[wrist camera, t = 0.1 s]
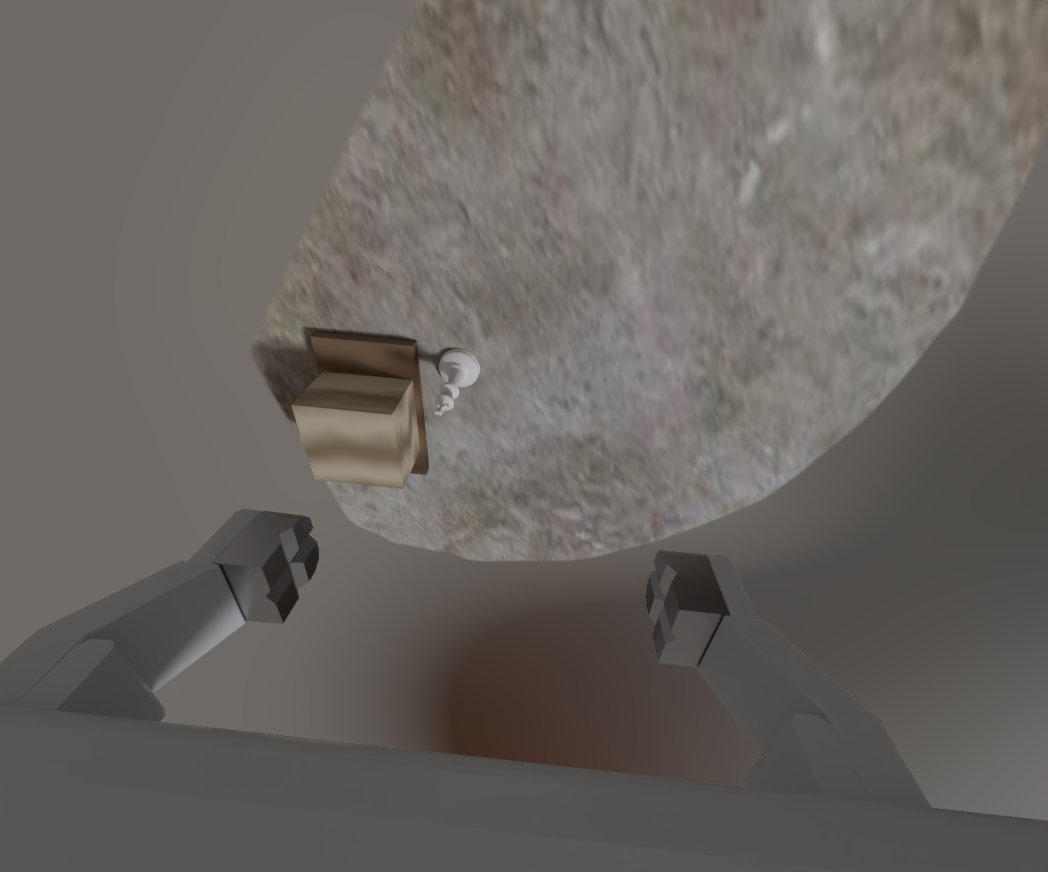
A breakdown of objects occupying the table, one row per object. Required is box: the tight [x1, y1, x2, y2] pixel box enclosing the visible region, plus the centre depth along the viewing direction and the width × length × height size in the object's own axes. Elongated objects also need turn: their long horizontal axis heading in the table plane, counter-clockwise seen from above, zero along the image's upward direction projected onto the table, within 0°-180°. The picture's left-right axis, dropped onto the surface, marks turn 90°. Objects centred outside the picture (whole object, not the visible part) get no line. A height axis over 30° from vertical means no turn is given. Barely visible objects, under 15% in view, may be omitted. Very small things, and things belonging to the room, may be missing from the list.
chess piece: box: [434, 349, 480, 416], centre depth 47 cm, size 5×5×10 cm
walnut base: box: [291, 331, 429, 489], centre depth 52 cm, size 20×12×9 cm, turn 176°
